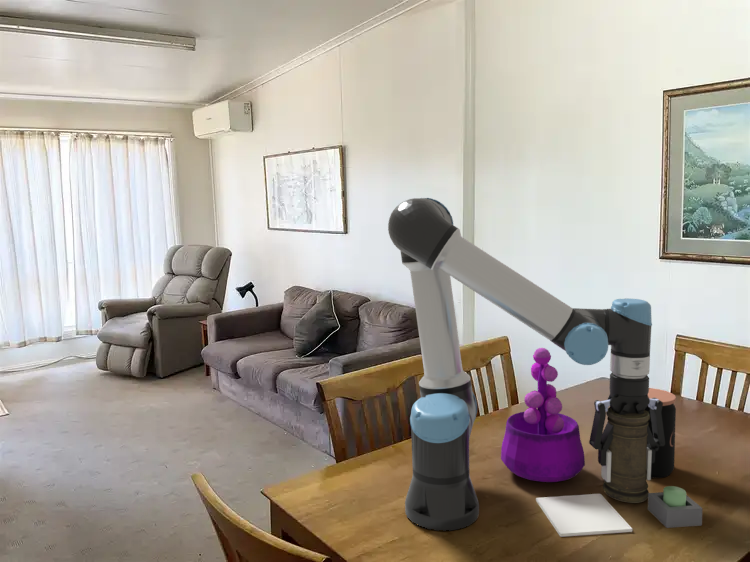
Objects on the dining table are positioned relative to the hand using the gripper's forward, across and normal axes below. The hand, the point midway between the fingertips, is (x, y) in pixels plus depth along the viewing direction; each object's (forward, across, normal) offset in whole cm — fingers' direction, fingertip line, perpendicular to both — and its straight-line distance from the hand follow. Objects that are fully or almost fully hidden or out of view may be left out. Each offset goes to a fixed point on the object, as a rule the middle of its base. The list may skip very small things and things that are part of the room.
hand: (625, 478), depth 126 cm
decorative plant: (+5, -14, +13) cm, 19 cm away
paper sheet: (+4, -12, -6) cm, 14 cm away
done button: (+4, +6, -9) cm, 11 cm away
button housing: (+4, +6, -9) cm, 11 cm away
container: (+4, 0, 0) cm, 4 cm away
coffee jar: (+4, +12, +12) cm, 17 cm away
